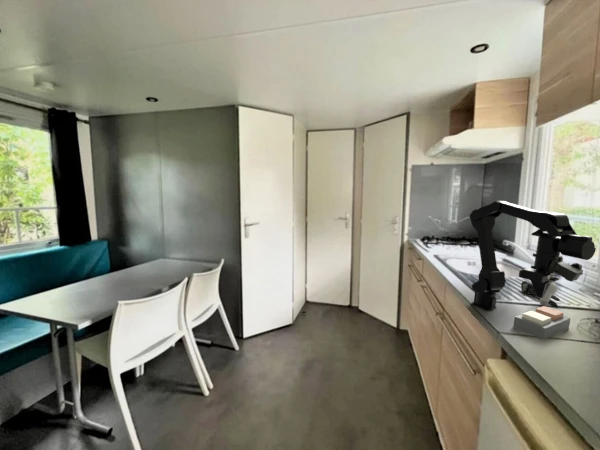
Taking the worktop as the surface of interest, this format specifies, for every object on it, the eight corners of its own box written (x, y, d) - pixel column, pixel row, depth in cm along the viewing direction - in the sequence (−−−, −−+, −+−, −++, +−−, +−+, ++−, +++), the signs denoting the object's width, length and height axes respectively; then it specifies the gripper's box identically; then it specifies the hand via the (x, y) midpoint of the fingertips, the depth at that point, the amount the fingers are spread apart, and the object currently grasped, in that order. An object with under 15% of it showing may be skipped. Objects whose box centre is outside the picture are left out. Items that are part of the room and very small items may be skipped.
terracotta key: (534, 320, 99) (536, 308, 99) (542, 317, 102) (543, 305, 101) (553, 327, 94) (555, 315, 94) (561, 324, 97) (563, 312, 96)
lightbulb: (550, 310, 111) (555, 284, 109) (531, 304, 116) (535, 279, 114) (555, 307, 114) (560, 281, 112) (536, 301, 119) (541, 277, 117)
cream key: (520, 325, 96) (522, 313, 95) (529, 322, 98) (531, 310, 97) (540, 333, 91) (542, 320, 90) (549, 330, 93) (551, 317, 93)
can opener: (515, 290, 133) (517, 279, 132) (529, 290, 133) (531, 279, 132) (548, 306, 115) (550, 293, 114) (565, 307, 115) (567, 294, 114)
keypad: (513, 327, 96) (514, 316, 96) (538, 317, 104) (540, 307, 104) (543, 340, 89) (545, 328, 88) (568, 329, 97) (570, 318, 96)
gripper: (566, 260, 79) (557, 312, 81) (594, 255, 88) (585, 302, 90) (521, 251, 89) (514, 298, 91) (550, 247, 97) (543, 290, 100)
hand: (540, 297), depth 93 cm, fingers closed
